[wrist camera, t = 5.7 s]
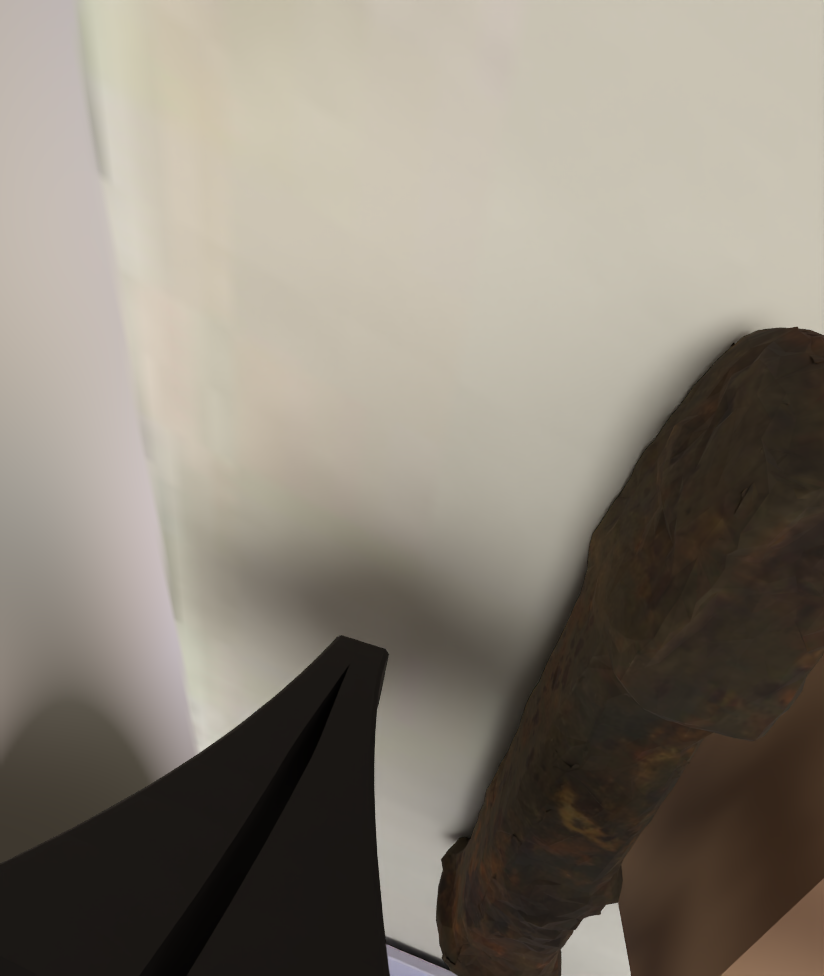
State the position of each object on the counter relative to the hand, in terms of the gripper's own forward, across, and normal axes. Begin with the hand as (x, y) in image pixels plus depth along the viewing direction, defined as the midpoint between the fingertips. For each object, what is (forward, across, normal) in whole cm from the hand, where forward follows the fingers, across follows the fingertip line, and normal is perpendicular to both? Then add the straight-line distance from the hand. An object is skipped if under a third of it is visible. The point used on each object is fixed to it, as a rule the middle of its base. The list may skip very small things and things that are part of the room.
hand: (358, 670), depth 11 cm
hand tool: (+2, -5, 0) cm, 6 cm away
